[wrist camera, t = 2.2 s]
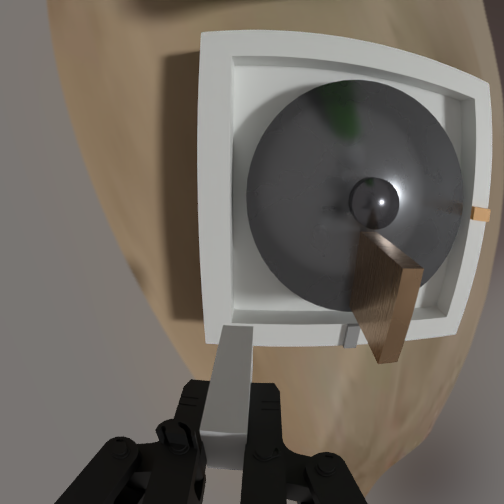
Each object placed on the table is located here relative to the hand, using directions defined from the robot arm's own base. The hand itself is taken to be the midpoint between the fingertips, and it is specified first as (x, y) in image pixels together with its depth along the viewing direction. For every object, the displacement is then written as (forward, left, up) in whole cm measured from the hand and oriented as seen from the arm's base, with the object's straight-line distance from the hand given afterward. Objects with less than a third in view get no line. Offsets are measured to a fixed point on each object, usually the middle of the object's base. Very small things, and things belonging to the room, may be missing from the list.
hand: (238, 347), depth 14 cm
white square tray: (-7, +8, -9) cm, 14 cm away
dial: (-7, +8, -7) cm, 13 cm away
